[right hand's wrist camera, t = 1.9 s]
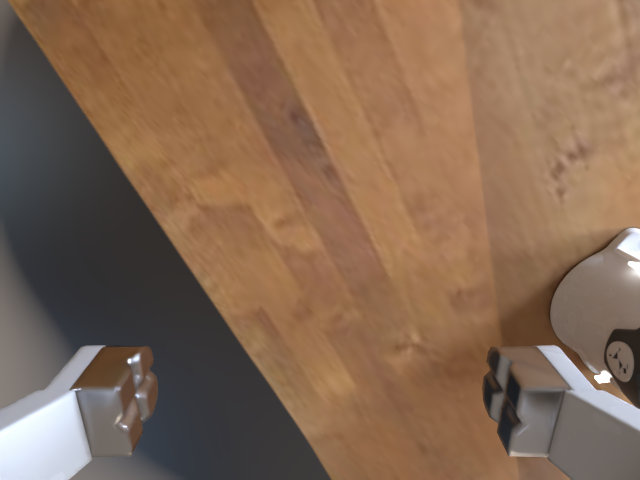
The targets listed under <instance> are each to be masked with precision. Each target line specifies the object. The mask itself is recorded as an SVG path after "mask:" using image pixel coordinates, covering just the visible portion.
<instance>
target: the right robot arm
mask: <svg viewBox="0 0 640 480" xmlns="http://www.w3.org/2000/svg"><path fill="white" fill-rule="evenodd" d="M550 319H551V324H552V327H553V330H554V332H555V334H556V335H557V337H558V338H559V339H560V340H561V341H562V342H563V343H564V344H565V345H566V346H568V347H569V348H571V349H572V350H574V351H575V352H576V353H578V354H579V355H580V357H581V359H582V361H583V363H584V364H585V366H586V367H587V368H588V369H589V370H591V371H592V372H593V373H596V374H601V375H598V376H595V379H596V380H597V381H598V382H599V383H604V382H610V383H611V384H612V385H614V386H615V387H616V388H617V389H618V390H619V391H621V392H622V393H623V394H624V395H625V396H626V397H627V398H628V399H629V400H630V401H631V402H632V403H633V404H634V406H635V407H634V406H633V405H631V404H629V403H627V402H625V401H623V400H621V399H619V398H617V397H615V396H613V395H611V394H609V393H607V392H605V391H603V390H596V389H595V388H594V387H593V386H592V385H591V384H590V382H589V381H588V380H587V379H586V378H585V377H584V375H583V374H582V373H581V372H580V371H579V370H578V369H577V367H576V366H575V365H574V364H573V363H572V362H571V360H570V359H569V358H568V357H567V356H566V355H565V354H564V352H563V351H562V350H561V349H560V348H559V347H557V346H555V345H545V346H526V347H491V348H490V350H489V352H488V355H487V363H488V365H489V367H490V369H491V370H490V371H489V372H488V373H487V374H486V375H485V376H484V379H483V386H482V391H483V401H484V404H485V408H486V410H487V413H488V415H489V417H490V418H491V419H493V420H494V421H496V422H497V423H498V429H497V433H498V435H499V437H500V439H501V441H502V443H503V445H504V447H505V450H506V452H507V454H508V456H523V457H548V460H549V461H550V462H552V463H553V464H554V465H555V466H556V467H557V468H559V469H560V470H561V471H562V472H563V473H564V474H566V475H567V476H568V477H569V478H570V479H571V480H640V229H638V228H629V229H626V230H624V231H623V232H622V233H620V234H619V235H618V236H617V237H616V238H615V239H614V240H613V241H612V242H611V243H610V244H609V245H608V246H607V247H606V248H605V249H603V250H602V251H600V252H598V253H596V254H594V255H593V256H591V257H589V258H587V259H585V260H584V261H582V262H581V263H579V264H578V265H577V266H576V267H574V268H573V269H572V270H571V271H570V272H569V273H568V274H567V275H566V276H565V278H564V279H563V280H562V281H561V283H560V284H559V286H558V288H557V290H556V292H555V294H554V296H553V299H552V303H551V308H550ZM152 363H153V356H152V352H151V349H150V348H149V347H147V346H104V345H102V346H84V347H81V348H80V349H79V350H78V351H77V352H76V354H75V355H74V356H73V357H72V358H71V359H70V360H69V362H68V363H67V364H66V365H65V366H64V367H63V369H62V370H61V371H60V372H59V373H58V374H57V375H56V377H55V378H54V379H53V380H52V381H51V382H50V384H49V385H48V386H47V387H46V388H45V389H44V390H37V391H35V392H33V393H31V394H29V395H27V396H25V397H23V398H21V399H19V400H17V401H15V402H13V403H11V404H9V405H7V406H6V407H4V408H2V409H0V480H69V479H70V478H71V477H72V476H73V475H75V474H76V473H77V472H78V471H79V470H80V469H82V468H83V467H84V466H85V465H86V464H87V463H89V462H90V461H91V460H92V457H116V456H132V454H133V451H134V449H135V448H136V445H137V444H138V441H139V439H140V437H141V435H142V433H143V429H142V423H143V422H144V421H146V420H147V419H149V418H150V417H151V415H152V413H153V410H154V408H155V404H156V400H157V389H158V385H157V379H156V376H155V375H154V374H153V373H152V372H151V371H150V370H149V369H150V367H151V365H152Z"/></svg>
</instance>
